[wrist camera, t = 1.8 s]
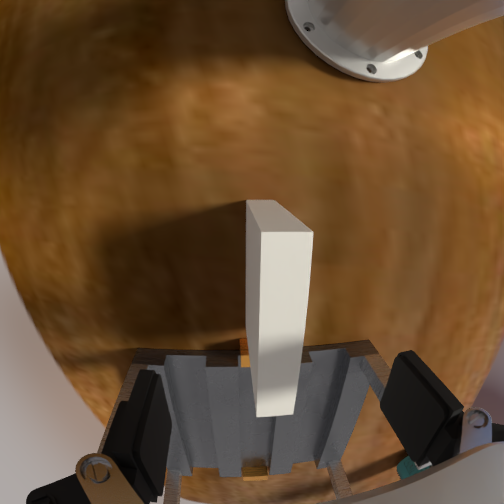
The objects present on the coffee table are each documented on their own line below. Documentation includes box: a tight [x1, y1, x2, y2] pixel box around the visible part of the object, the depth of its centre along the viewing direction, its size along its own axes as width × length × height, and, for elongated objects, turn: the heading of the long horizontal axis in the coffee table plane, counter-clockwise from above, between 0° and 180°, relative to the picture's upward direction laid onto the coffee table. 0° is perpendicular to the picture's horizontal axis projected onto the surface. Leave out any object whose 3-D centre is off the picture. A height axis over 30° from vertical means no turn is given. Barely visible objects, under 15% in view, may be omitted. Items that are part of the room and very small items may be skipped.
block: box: [246, 200, 313, 417], centre depth 17 cm, size 10×2×10 cm, turn 0°
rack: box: [97, 338, 432, 504], centre depth 20 cm, size 21×21×14 cm
